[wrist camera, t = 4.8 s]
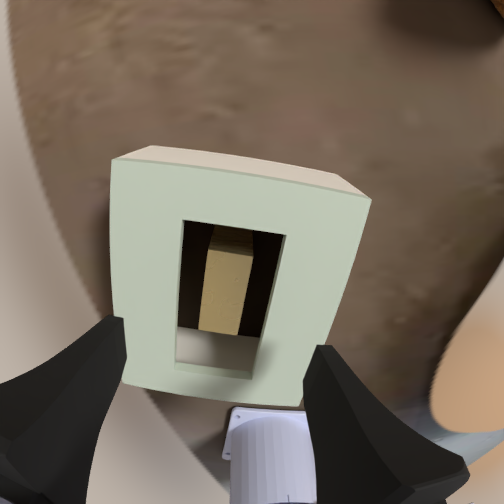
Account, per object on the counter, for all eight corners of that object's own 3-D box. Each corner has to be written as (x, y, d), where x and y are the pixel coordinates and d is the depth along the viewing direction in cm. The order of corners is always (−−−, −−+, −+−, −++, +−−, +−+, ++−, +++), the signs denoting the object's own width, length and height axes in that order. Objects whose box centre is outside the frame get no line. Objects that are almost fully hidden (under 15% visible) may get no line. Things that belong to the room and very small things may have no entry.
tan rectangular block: (238, 294, 19) (237, 335, 16) (206, 289, 19) (198, 329, 16) (252, 225, 18) (253, 256, 14) (216, 220, 17) (208, 249, 14)
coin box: (288, 347, 21) (298, 406, 16) (144, 327, 20) (122, 382, 15) (336, 174, 16) (371, 199, 11) (151, 145, 15) (111, 159, 11)
